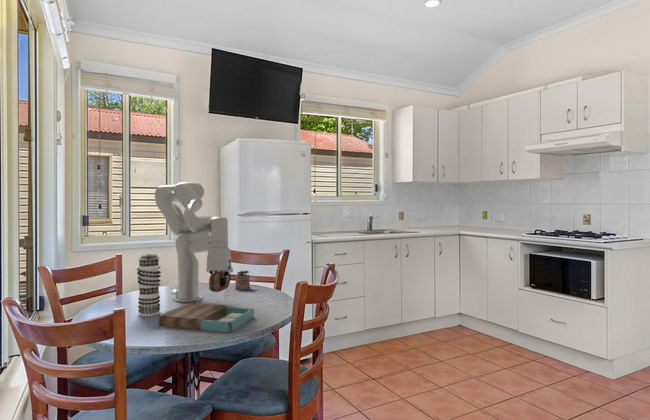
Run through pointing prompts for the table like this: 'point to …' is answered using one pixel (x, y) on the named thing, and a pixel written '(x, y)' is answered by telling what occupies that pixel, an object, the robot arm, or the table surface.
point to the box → (231, 325)
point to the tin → (218, 282)
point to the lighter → (242, 280)
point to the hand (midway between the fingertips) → (219, 285)
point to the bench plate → (191, 315)
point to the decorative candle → (148, 285)
